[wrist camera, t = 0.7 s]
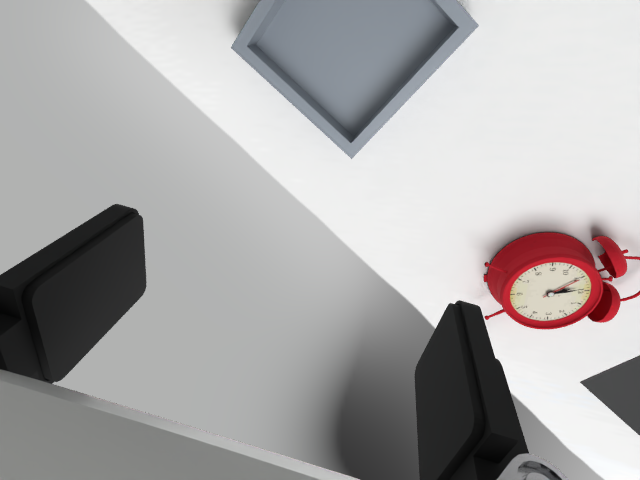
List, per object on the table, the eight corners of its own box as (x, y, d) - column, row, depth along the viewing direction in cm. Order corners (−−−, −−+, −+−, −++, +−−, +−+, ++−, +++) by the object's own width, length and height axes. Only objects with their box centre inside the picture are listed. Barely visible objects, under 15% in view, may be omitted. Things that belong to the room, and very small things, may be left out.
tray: (346, -114, 28) (340, -131, 25) (470, 26, 31) (478, 25, 28) (245, 46, 34) (230, 47, 31) (355, 148, 37) (351, 158, 34)
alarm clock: (481, 255, 37) (681, 259, 30) (483, 225, 42) (656, 224, 35) (482, 334, 41) (656, 353, 35) (484, 299, 46) (637, 310, 40)
